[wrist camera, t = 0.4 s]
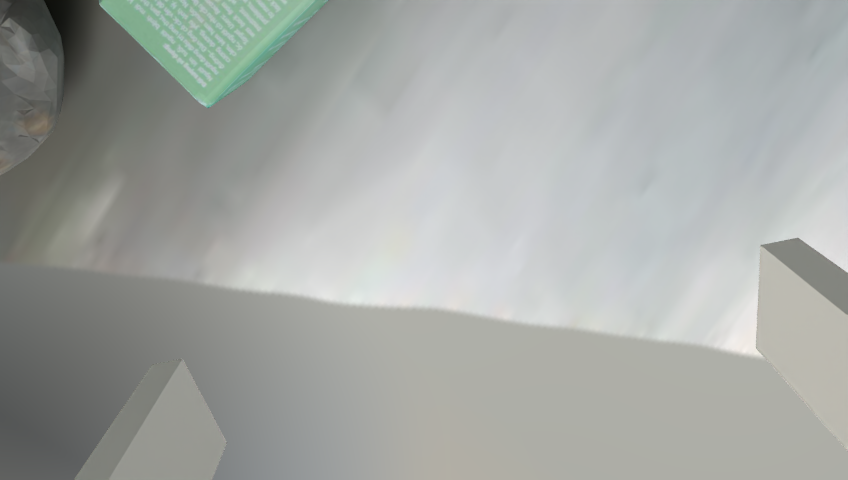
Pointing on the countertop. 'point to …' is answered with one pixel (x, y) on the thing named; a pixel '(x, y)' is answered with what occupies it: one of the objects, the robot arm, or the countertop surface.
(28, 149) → the vessel
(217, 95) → the box
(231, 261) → the countertop surface
